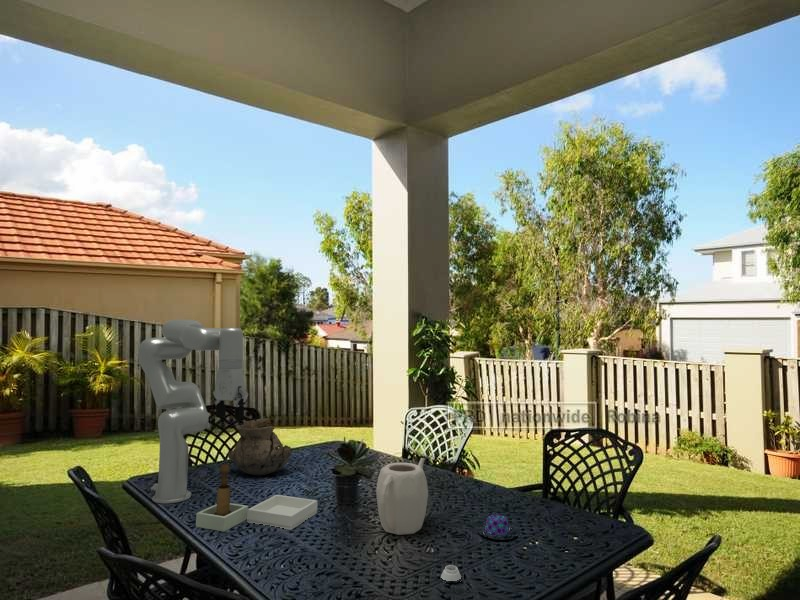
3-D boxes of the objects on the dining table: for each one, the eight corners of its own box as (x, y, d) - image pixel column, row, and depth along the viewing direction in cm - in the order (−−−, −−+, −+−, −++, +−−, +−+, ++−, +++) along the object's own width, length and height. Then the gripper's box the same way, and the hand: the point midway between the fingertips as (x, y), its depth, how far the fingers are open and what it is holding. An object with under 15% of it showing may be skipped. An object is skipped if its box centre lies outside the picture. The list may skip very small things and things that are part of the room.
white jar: (459, 586, 120) (462, 577, 125) (460, 573, 120) (462, 564, 125) (439, 583, 121) (442, 574, 126) (439, 571, 121) (442, 562, 126)
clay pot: (221, 471, 215) (223, 420, 217) (271, 462, 231) (272, 415, 233) (247, 485, 197) (249, 429, 198) (300, 474, 213) (301, 423, 214)
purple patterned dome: (485, 544, 145) (485, 525, 145) (472, 528, 157) (472, 511, 157) (524, 542, 147) (524, 523, 147) (508, 526, 159) (508, 509, 159)
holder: (195, 526, 154) (196, 513, 154) (221, 514, 165) (221, 501, 165) (223, 531, 150) (224, 517, 150) (247, 518, 161) (248, 505, 161)
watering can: (444, 519, 163) (445, 460, 165) (404, 548, 140) (405, 479, 142) (403, 510, 171) (403, 453, 172) (358, 536, 148) (359, 471, 150)
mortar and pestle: (226, 527, 153) (228, 467, 155) (207, 525, 155) (209, 466, 156) (237, 519, 160) (239, 462, 161) (218, 518, 161) (221, 461, 163)
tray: (247, 522, 158) (247, 509, 158) (276, 506, 173) (276, 494, 173) (291, 529, 152) (291, 516, 153) (317, 512, 167) (317, 500, 168)
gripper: (205, 365, 168) (204, 417, 166) (237, 366, 157) (236, 421, 156) (224, 364, 174) (223, 415, 172) (256, 365, 163) (256, 418, 162)
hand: (229, 418), depth 164 cm, fingers open, 9 cm apart
